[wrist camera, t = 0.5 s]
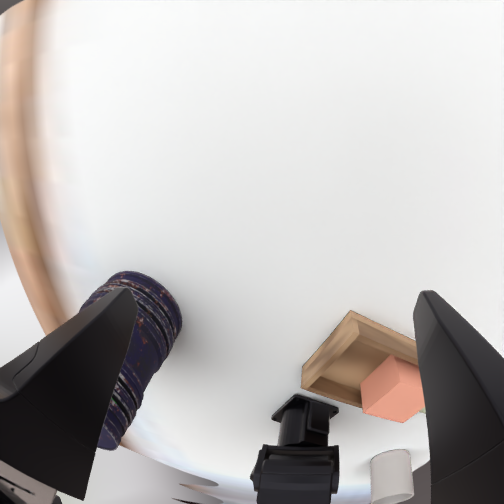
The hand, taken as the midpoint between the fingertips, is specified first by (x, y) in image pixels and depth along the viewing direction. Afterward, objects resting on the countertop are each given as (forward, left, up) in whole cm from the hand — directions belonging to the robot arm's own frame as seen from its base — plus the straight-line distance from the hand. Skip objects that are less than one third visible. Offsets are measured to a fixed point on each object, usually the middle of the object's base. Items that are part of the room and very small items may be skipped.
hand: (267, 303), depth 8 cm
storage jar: (-19, +8, -15) cm, 25 cm away
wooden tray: (-12, -21, -15) cm, 28 cm away
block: (-12, -19, -14) cm, 26 cm away
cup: (-32, -38, -15) cm, 52 cm away
